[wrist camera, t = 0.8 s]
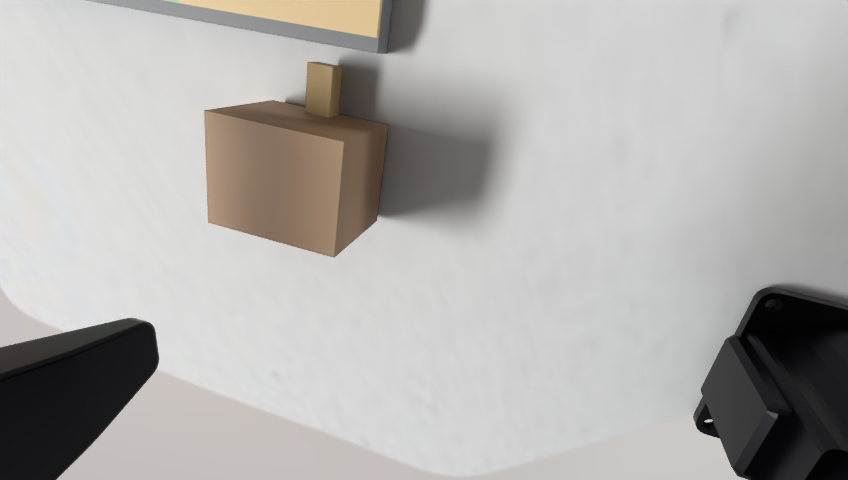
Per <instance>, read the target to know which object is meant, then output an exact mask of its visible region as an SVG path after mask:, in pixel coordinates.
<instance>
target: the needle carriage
mask: <svg viewBox="0 0 848 480" xmlns="http://www.w3.org/2000/svg"><path fill="white" fill-rule="evenodd" d="M341 78H342V66H337V65H331V64H326V63H321V62H308V64H307V84H306V104H305V107H302V106H297V105H293V104H288V103H283V102H278V101H274V100H272V101H265V102H258V103H252V104H245V105H238V106H231V107H225V108H218V109H211V110H204V117H205V146H206V174H207V203H208V223H212V224H215V225H219V226H223V227H226V228H230V229H233V230H237V231H241V232H244V233H248V234H251V235H255V236H258V237H262V238H266V239H269V240H273V241H276V242H280V243H284V244H287V245H291V246H294V247H298V248H301V249H305V250H309V251H312V252H316V253H319V254H323V255H327V256H330V257H335V256H336V255H338V254H339V253H340V252H341V251H342V250H343V249H345V248H346V247H347V246H348V245H349V244H350V243H352V242H353V241H354V240H355V239H356V238H357V237H359V236H360V235H361V234H362V233H363V232H364V231H365V230H367V229H368V228H369V227H370V226H371V225H372V224H374V223H375V222H376V221H377V215H378V206H379V198H380V190H381V182H382V174H383V166H384V157H385V149H386V141H387V133H388V125H386V124H382V123H377V122H372V121H368V120H363V119H358V118H354V117H349V116H344V115H339V104H340V91H341Z"/></svg>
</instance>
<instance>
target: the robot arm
mask: <svg viewBox="0 0 848 480" xmlns="http://www.w3.org/2000/svg"><path fill="white" fill-rule="evenodd" d="M772 299H778V301H777V303H776V304H775V305H774V306H771V307H766V306H765V304H766V303H767V302H768V301H769V300H772ZM158 363H159V354H158V347H157V340H156V332H155V328H154V326H153V325H152V324H151V323H149V322H146V321H143V320H140V319H136V318H126V319H122V320H117V321H113V322H109V323H104V324H100V325H96V326H91V327H87V328H83V329H78V330H74V331H70V332H65V333H61V334H57V335H52V336H48V337H44V338H40V339H35V340H31V341H27V342H22V343H18V344H14V345H9V346H5V347H1V348H0V480H56V479H57V478H58V477H59V476H60V475H61V474H62V473H63V472H64V471H65V470H66V469H67V468H68V467H69V466H70V465H71V464H72V463H73V462H74V461H76V460H77V459H78V458H79V457H80V455H82V454H83V453H84V451H86V449H87V448H88V447H89V446H90V445H91V444H92V443H93V442H94V441H95V440H96V439H97V438H98V437H99V436H100V435H101V433H102V432H103V431H104V430H105V429H106V428H107V427H108V425H109V424H110V423H111V422H112V421H113V420H114V418H115V417H116V416H117V415H118V414H119V413H120V412H121V410H122V409H123V408H124V407H125V406H126V405H127V403H128V402H129V401H130V400H131V399H132V398H133V397H134V395H135V394H136V393H137V392H138V391H139V390H140V388H141V387H142V386H143V385H144V384H145V383H146V381H147V380H148V379H149V378H150V377H151V376H152V375H153V373H154V372H155V370H156V369H157V366H158ZM701 392H702V394H703V397H702V399H701V401H700V403H699V405H698V407H697V409H696V411H695V413H694V416H693V418H694V421H695V423H696V426H697V429H698V430H699V431H700V432H702V433H704V434H707V435H710V436H714V437H717V438H720V439H721V442H722V444H723V447H724V449H725V452H726V454H727V457H728V459H729V462H730V464H731V467H732V468H733V470H734V471H735V473H736V474H737V476H739V477H742V478H745V479H748V480H848V306H847V305H843V304H839V303H835V302H831V301H827V300H822V299H818V298H814V297H810V296H806V295H802V294H798V293H794V292H790V291H786V290H781V289H777V288H765V289H762V290H760V291H758V292H757V293H756V294H755V296H754V297H753V299H752V301H751V303H750V305H749V307H748V309H747V311H746V313H745V315H744V317H743V319H742V321H741V323H740V325H739V326H738V328H737V330H736V332H735V334H734V335H732V336H730V337H729V338H727V339H726V340H725V342H724V344H723V346H722V348H721V350H720V352H719V354H718V356H717V358H716V360H715V362H714V364H713V366H712V368H711V370H710V372H709V374H708V376H707V378H706V380H705V382H704V384H703V386H702V388H701ZM707 419H712V420H713V421H712V422H709V423H706V422H704V421H705V420H707Z"/></svg>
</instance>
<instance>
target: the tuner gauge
mask: <svg viewBox="0 0 848 480" xmlns="http://www.w3.org/2000/svg"><path fill="white" fill-rule="evenodd" d="M87 1H93V2H98V3H104V4H109V5H114V6H120V7H125V8H131V9H136V10H142V11H147V12H153V13H158V14H164V15H169V16H175V17H180V18H186V19H191V20H197V21H202V22H208V23H213V24H219V25H224V26H230V27H235V28H241V29H246V30H252V31H257V32H263V33H268V34H274V35H279V36H284V37H290V38H295V39H301V40H306V41H312V42H317V43H323V44H328V45H334V46H339V47H345V48H350V49H356V50H361V51H367V52H372V53H384V54H387V48H388V40H389V31H390V22H391V13H392V4H393V0H87Z"/></svg>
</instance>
